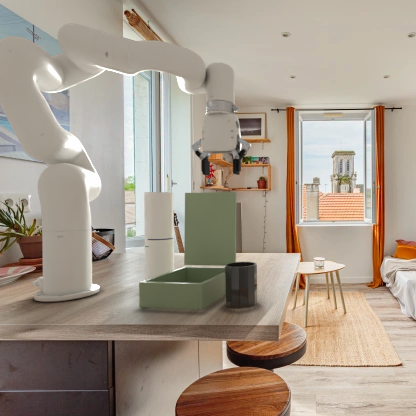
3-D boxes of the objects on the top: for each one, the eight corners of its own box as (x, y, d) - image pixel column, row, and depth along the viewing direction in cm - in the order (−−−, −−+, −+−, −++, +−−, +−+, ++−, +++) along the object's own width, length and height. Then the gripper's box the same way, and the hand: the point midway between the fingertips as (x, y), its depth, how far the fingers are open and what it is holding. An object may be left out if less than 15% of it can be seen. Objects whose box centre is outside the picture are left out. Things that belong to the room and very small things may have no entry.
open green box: (202, 313, 64) (201, 284, 64) (139, 310, 66) (139, 282, 66) (235, 290, 82) (235, 267, 82) (185, 288, 84) (184, 266, 84)
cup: (220, 311, 65) (219, 266, 65) (232, 302, 72) (232, 261, 72) (250, 312, 64) (250, 267, 64) (260, 303, 71) (260, 261, 71)
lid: (235, 192, 82) (236, 192, 82) (184, 192, 84) (186, 193, 84) (234, 265, 81) (236, 265, 82) (184, 264, 83) (185, 264, 84)
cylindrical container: (162, 288, 84) (162, 191, 84) (138, 287, 85) (138, 192, 85) (179, 282, 91) (178, 193, 91) (156, 281, 92) (156, 193, 92)
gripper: (255, 113, 92) (255, 175, 92) (197, 116, 94) (198, 176, 94) (246, 105, 84) (246, 172, 85) (183, 108, 87) (184, 174, 87)
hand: (221, 174), depth 89 cm, fingers open, 8 cm apart
